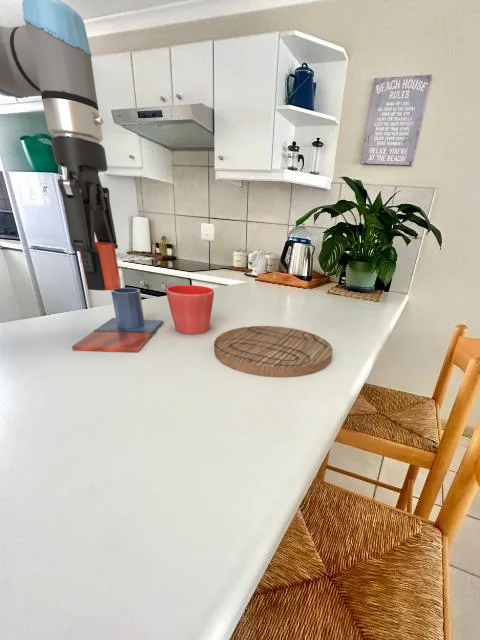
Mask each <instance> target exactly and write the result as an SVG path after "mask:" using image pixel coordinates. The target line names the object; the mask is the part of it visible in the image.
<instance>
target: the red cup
mask: <svg viewBox="0 0 480 640" xmlns="http://www.w3.org/2000/svg"><path fill="white" fill-rule="evenodd" d="M95 252H99V257H100V263H101V268H102V274H103V280H104V285H105V290H99V291H104V292H105V291H111V290H116V289H119V288H122V286H121V284H122V283H121V277H120V271H119V264H118V258H117V252H116V249H115V246H114V243H108V242H97V241H95ZM79 255H80V261H81V266H82V271H83V274H84V275H83V276H84V278H85V279H84V280H85V285H86V289H88V287H87V282H86V277H85V272H84V267H83V262H82V257H81V252H79Z"/></svg>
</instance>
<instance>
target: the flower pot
mask: <svg viewBox="0 0 480 640" xmlns="http://www.w3.org/2000/svg"><path fill="white" fill-rule="evenodd" d="M165 293H166V298H167V302H168V305H169V306H168V307H169V310H170V313H171V318H172V320H173V324H174V329H175V331H176V332H178V333H180V334H185V335H201V334H205V333H207V332H209V329H210V323H211V316H212V310H213V303H214V296H215V290H214V289H213V288H212V287H208V286H203V285H202V286H201V285H195V284H175V285H170V286H167V287H166V288H165Z"/></svg>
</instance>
